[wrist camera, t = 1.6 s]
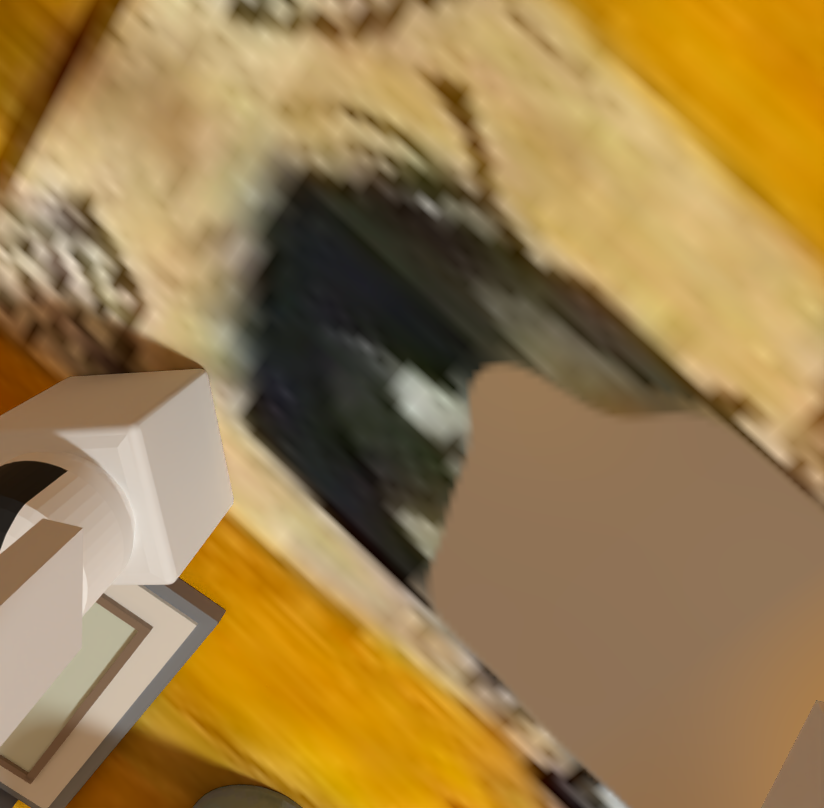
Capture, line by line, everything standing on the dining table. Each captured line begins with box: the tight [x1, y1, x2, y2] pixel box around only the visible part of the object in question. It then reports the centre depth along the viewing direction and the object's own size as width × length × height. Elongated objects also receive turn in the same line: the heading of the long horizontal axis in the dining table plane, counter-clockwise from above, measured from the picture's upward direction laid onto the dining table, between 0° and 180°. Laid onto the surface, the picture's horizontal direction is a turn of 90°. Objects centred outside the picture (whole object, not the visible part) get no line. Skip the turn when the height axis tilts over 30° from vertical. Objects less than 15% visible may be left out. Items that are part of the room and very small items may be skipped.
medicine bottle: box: [0, 369, 234, 617], centre depth 30 cm, size 7×7×12 cm
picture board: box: [0, 578, 226, 808], centre depth 40 cm, size 16×20×2 cm
